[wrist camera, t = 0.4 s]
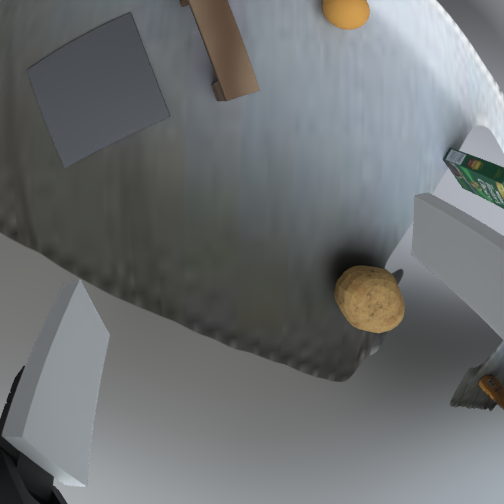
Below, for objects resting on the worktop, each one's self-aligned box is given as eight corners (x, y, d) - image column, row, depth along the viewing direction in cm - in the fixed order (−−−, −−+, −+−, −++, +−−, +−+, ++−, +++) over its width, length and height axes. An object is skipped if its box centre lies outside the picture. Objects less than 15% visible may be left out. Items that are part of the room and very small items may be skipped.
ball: (309, -4, 28) (327, -16, 23) (347, -7, 28) (369, -18, 23) (323, 35, 31) (343, 27, 26) (360, 30, 31) (384, 24, 26)
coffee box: (440, 159, 41) (502, 185, 30) (449, 145, 40) (512, 169, 29) (461, 188, 44) (517, 218, 33) (469, 176, 44) (525, 203, 32)
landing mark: (27, 70, 25) (26, 70, 25) (131, 12, 25) (130, 12, 25) (65, 168, 32) (65, 168, 32) (170, 116, 32) (170, 116, 32)
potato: (355, 235, 44) (383, 262, 37) (397, 282, 50) (423, 309, 43) (308, 283, 46) (328, 316, 39) (357, 321, 52) (378, 352, 46)
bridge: (217, 101, 32) (226, 100, 24) (176, -7, 25) (174, -37, 17) (242, 92, 33) (260, 90, 25) (202, -15, 25) (208, -47, 17)
